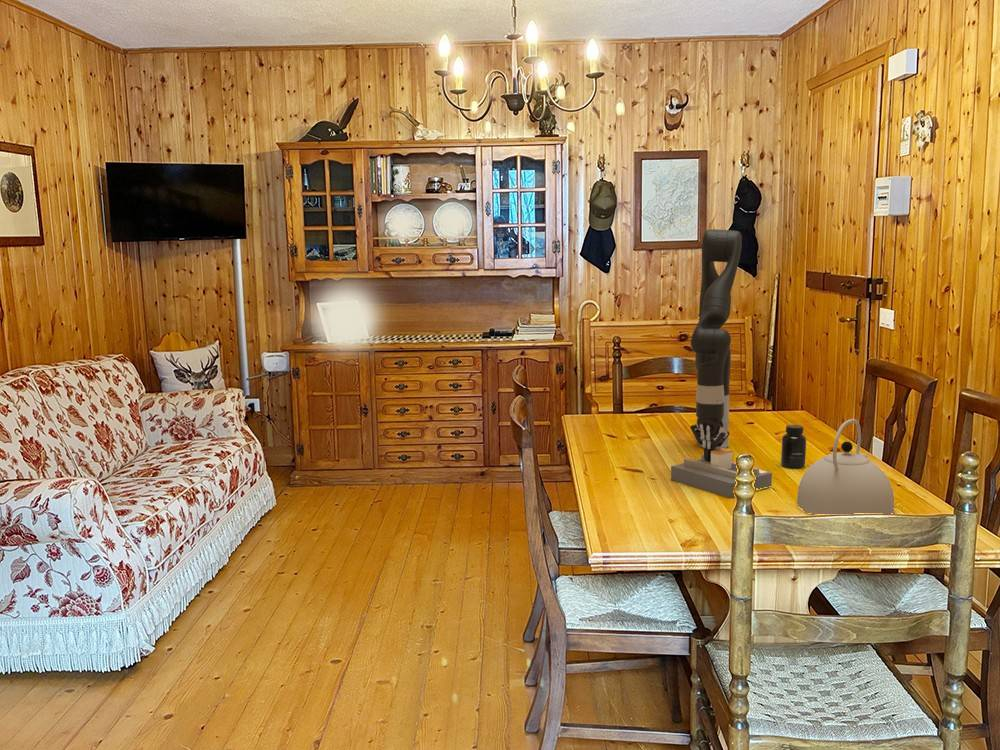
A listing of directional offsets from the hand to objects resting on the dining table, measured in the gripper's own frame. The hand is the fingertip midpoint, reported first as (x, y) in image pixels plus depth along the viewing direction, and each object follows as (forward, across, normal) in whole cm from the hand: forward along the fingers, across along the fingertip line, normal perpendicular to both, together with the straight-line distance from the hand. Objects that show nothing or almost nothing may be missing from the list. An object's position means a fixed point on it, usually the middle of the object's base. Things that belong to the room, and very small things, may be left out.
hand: (709, 460), depth 242 cm
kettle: (+6, +37, +10) cm, 39 cm away
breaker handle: (+1, +4, 0) cm, 4 cm away
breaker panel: (+6, +4, 0) cm, 7 cm away
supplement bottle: (+6, +5, +30) cm, 31 cm away
